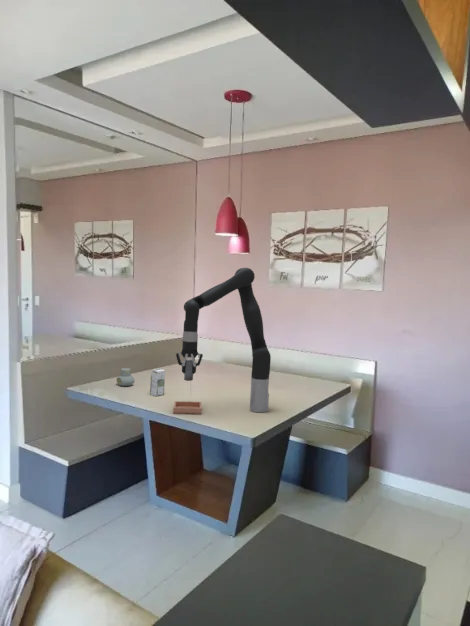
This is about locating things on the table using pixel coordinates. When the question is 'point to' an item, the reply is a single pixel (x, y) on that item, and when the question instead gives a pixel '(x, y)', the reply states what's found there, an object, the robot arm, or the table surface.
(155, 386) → the syrup box
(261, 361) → the robot arm
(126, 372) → the air freshener
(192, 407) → the tray
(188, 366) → the shaker
